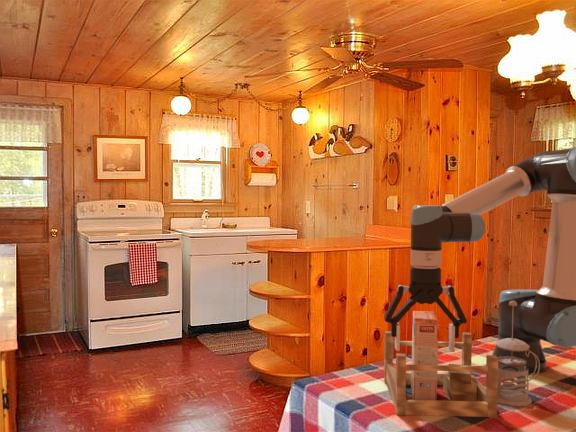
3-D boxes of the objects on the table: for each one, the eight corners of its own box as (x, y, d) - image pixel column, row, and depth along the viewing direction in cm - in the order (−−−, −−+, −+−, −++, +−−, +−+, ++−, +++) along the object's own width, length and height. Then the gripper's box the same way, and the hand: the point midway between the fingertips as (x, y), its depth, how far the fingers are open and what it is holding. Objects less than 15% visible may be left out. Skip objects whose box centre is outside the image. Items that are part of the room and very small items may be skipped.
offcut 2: (466, 382, 137) (466, 373, 137) (476, 394, 129) (476, 384, 129) (443, 382, 137) (443, 373, 137) (452, 394, 129) (452, 384, 129)
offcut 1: (468, 374, 136) (468, 365, 136) (470, 384, 129) (471, 374, 129) (448, 373, 137) (448, 363, 137) (449, 382, 130) (450, 372, 130)
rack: (468, 383, 142) (469, 332, 142) (496, 417, 121) (498, 357, 120) (384, 381, 144) (384, 331, 143) (396, 414, 122) (397, 355, 121)
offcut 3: (465, 391, 138) (466, 382, 138) (476, 405, 129) (476, 395, 129) (443, 391, 138) (443, 381, 138) (452, 404, 129) (452, 394, 129)
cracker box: (438, 409, 125) (439, 323, 124) (412, 407, 126) (413, 322, 125) (433, 388, 138) (435, 310, 138) (410, 386, 140) (411, 309, 139)
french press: (484, 390, 137) (486, 296, 136) (529, 391, 137) (531, 297, 136) (498, 405, 127) (500, 304, 126) (546, 406, 127) (549, 305, 126)
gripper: (377, 268, 128) (376, 353, 129) (480, 269, 126) (479, 355, 127) (374, 263, 135) (373, 344, 136) (471, 265, 134) (469, 346, 135)
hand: (424, 350), depth 132 cm, fingers open, 13 cm apart
